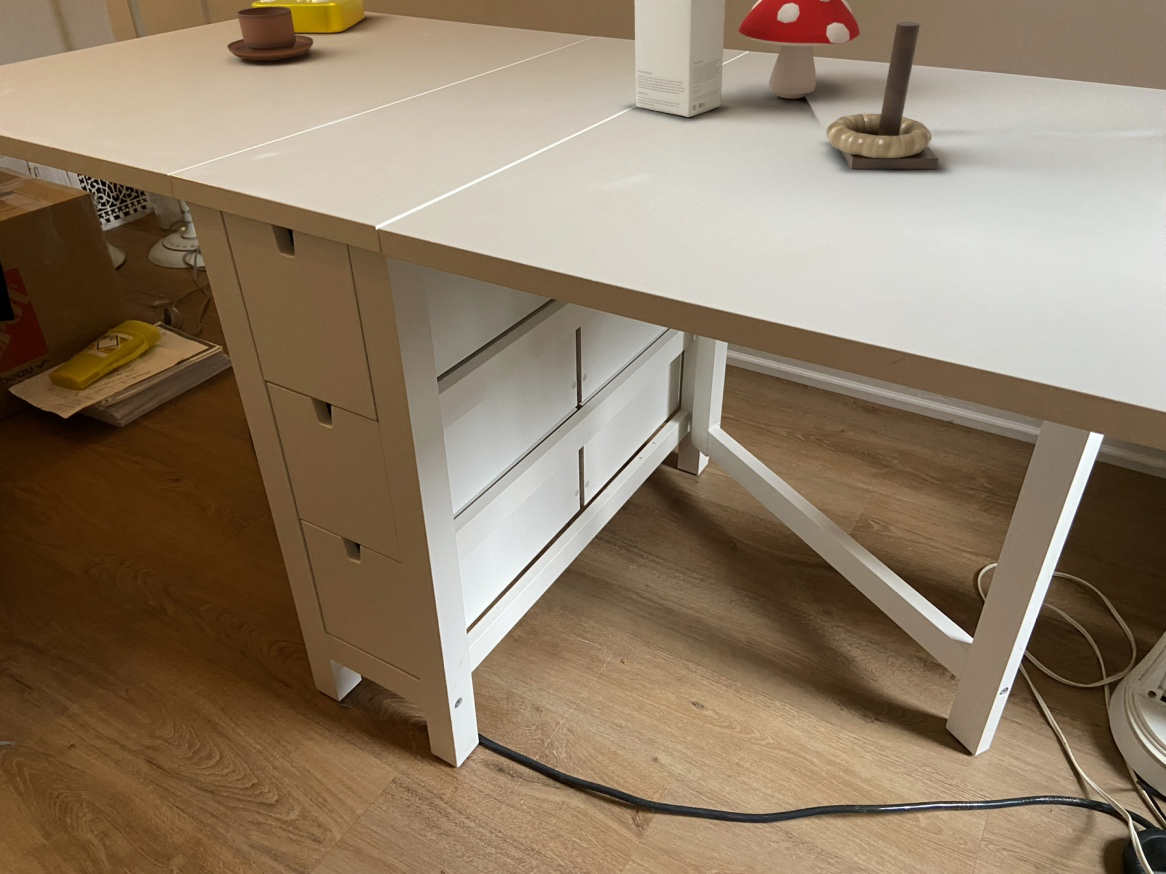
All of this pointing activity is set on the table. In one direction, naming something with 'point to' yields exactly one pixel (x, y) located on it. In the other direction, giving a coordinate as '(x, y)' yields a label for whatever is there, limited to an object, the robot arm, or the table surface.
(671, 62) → the cosmetic box
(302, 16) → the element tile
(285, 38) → the cup and saucer
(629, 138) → the table surface
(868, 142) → the ribbed beige ring
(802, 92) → the decorative mushroom
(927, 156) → the peg
